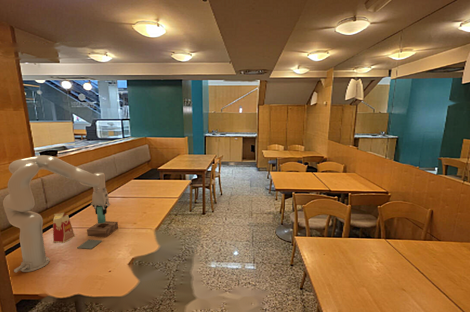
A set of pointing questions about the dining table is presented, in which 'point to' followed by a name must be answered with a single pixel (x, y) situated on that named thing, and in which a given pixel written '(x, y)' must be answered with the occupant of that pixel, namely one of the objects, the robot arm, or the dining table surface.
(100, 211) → the peg
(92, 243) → the mat
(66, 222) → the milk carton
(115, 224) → the pocket block
